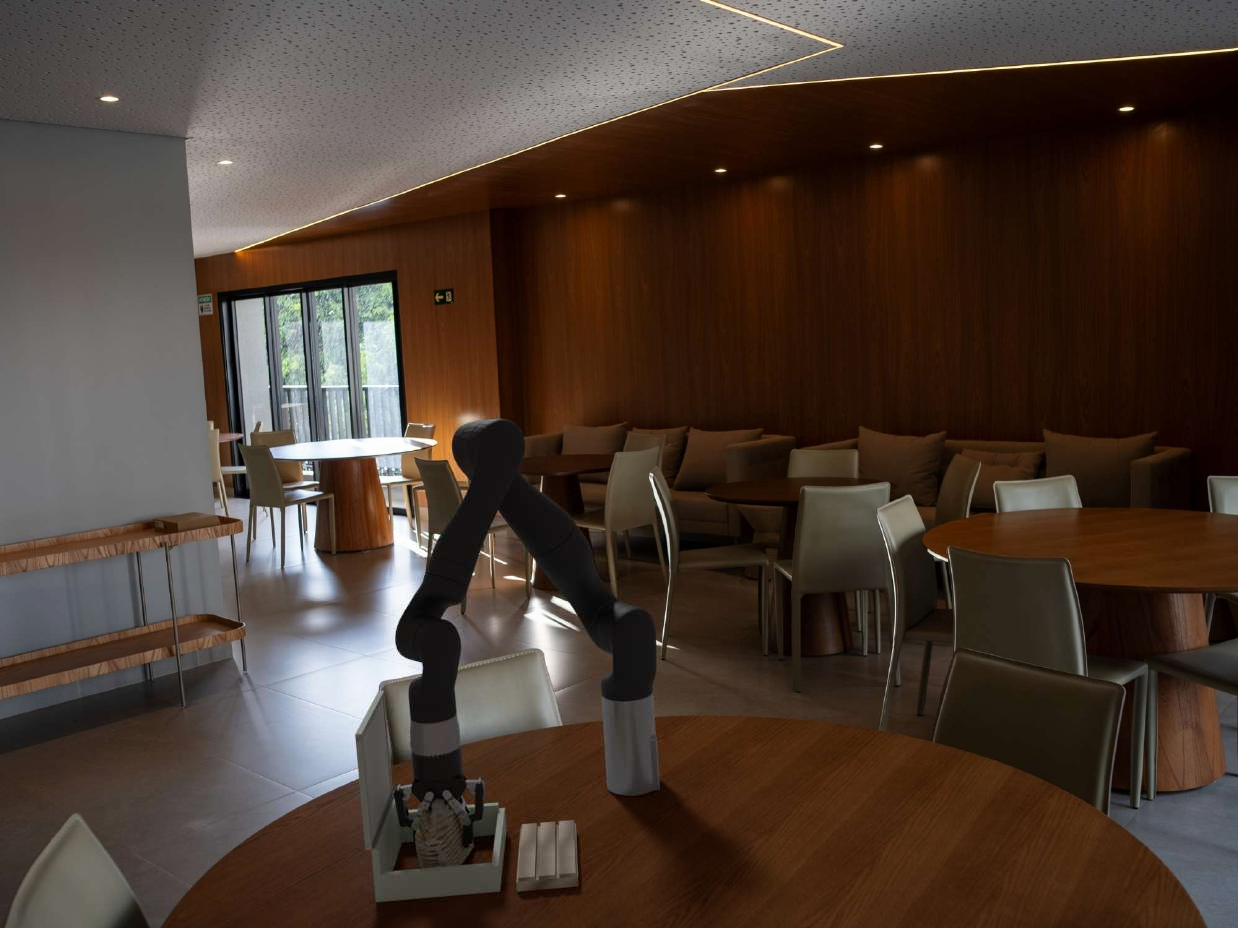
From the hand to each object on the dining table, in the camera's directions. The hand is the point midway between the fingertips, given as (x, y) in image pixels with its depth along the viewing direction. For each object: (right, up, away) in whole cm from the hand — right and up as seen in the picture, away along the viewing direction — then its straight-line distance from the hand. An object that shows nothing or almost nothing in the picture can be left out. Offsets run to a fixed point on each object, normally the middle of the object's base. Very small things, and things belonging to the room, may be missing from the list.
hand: (444, 847), depth 155 cm
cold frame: (0, -3, 0) cm, 3 cm away
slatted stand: (+16, -2, 0) cm, 16 cm away
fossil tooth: (0, -3, +1) cm, 3 cm away
